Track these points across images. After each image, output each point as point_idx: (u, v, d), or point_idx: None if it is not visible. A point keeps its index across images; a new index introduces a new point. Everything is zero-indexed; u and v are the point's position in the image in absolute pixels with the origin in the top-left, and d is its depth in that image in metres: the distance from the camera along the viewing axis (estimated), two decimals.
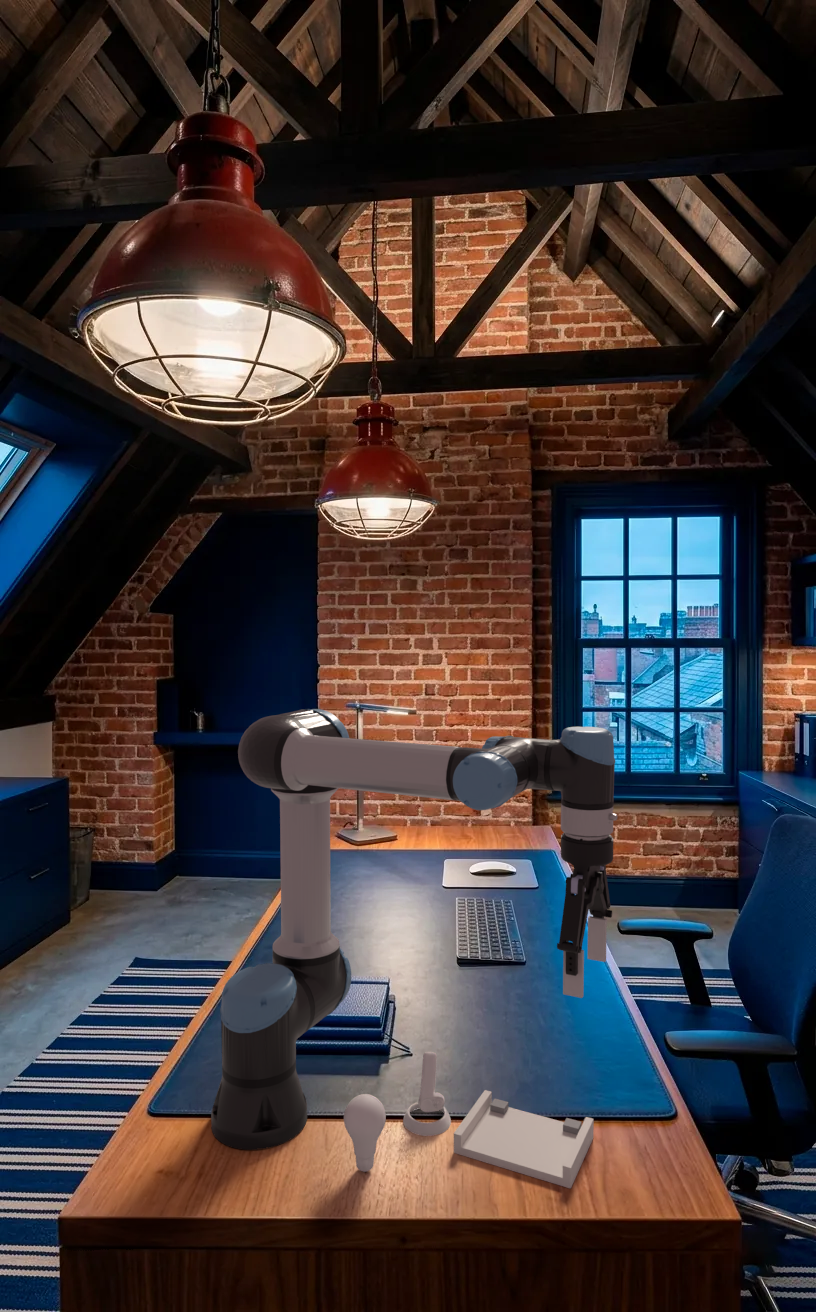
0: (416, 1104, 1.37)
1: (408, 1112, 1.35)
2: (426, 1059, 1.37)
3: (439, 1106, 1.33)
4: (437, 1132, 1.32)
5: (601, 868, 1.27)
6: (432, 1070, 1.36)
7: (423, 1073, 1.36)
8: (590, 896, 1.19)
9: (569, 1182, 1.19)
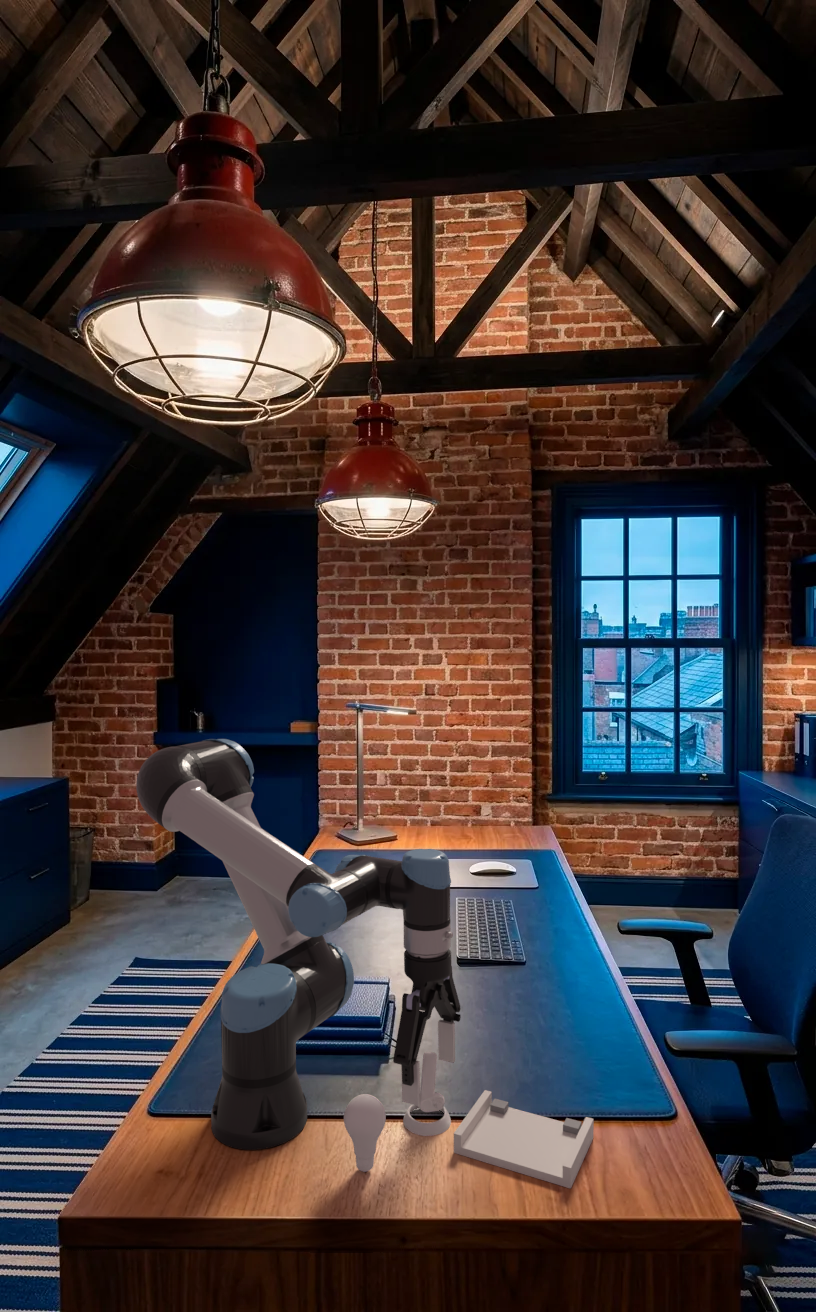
0: None
1: (408, 1112, 1.35)
2: (426, 1059, 1.37)
3: (439, 1106, 1.33)
4: (437, 1132, 1.32)
5: (446, 977, 1.38)
6: (432, 1070, 1.36)
7: (423, 1073, 1.36)
8: (427, 1009, 1.30)
9: (569, 1182, 1.19)
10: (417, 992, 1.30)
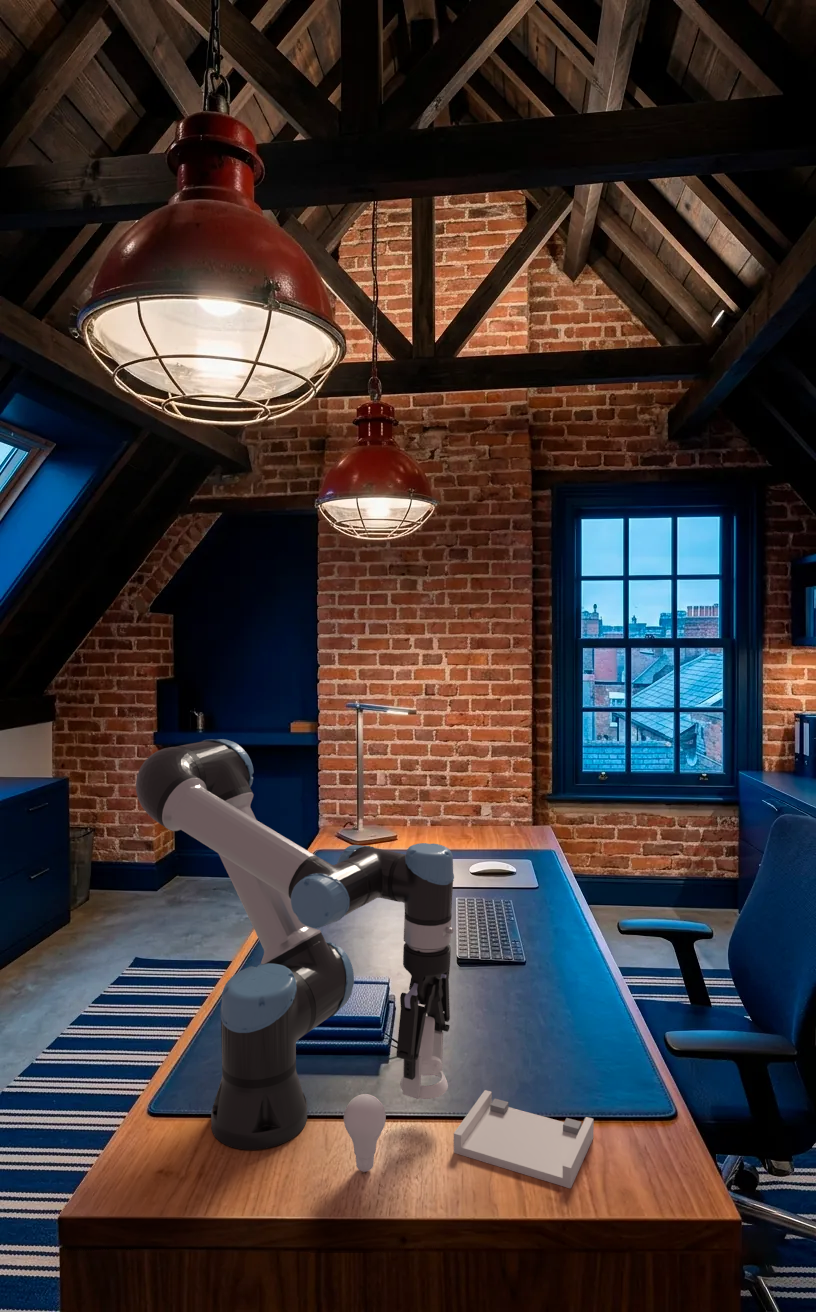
0: None
1: None
2: (424, 1023, 1.37)
3: (436, 1070, 1.33)
4: (434, 1095, 1.32)
5: (443, 976, 1.38)
6: (430, 1034, 1.36)
7: None
8: (426, 1005, 1.31)
9: (569, 1182, 1.19)
10: (415, 989, 1.30)
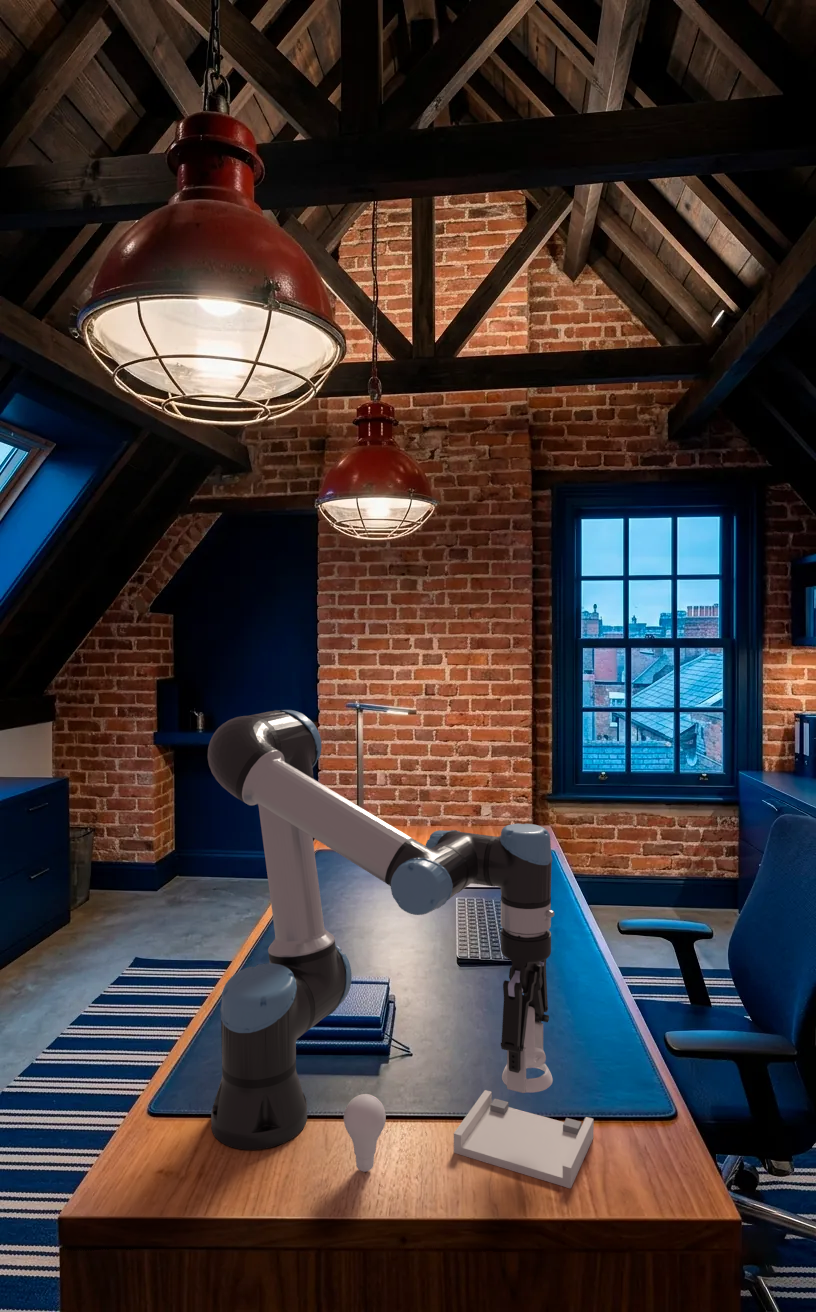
0: None
1: None
2: None
3: (541, 1061, 1.27)
4: (540, 1088, 1.25)
5: (541, 963, 1.32)
6: (531, 1024, 1.29)
7: None
8: (529, 993, 1.24)
9: (569, 1182, 1.19)
10: (517, 976, 1.23)
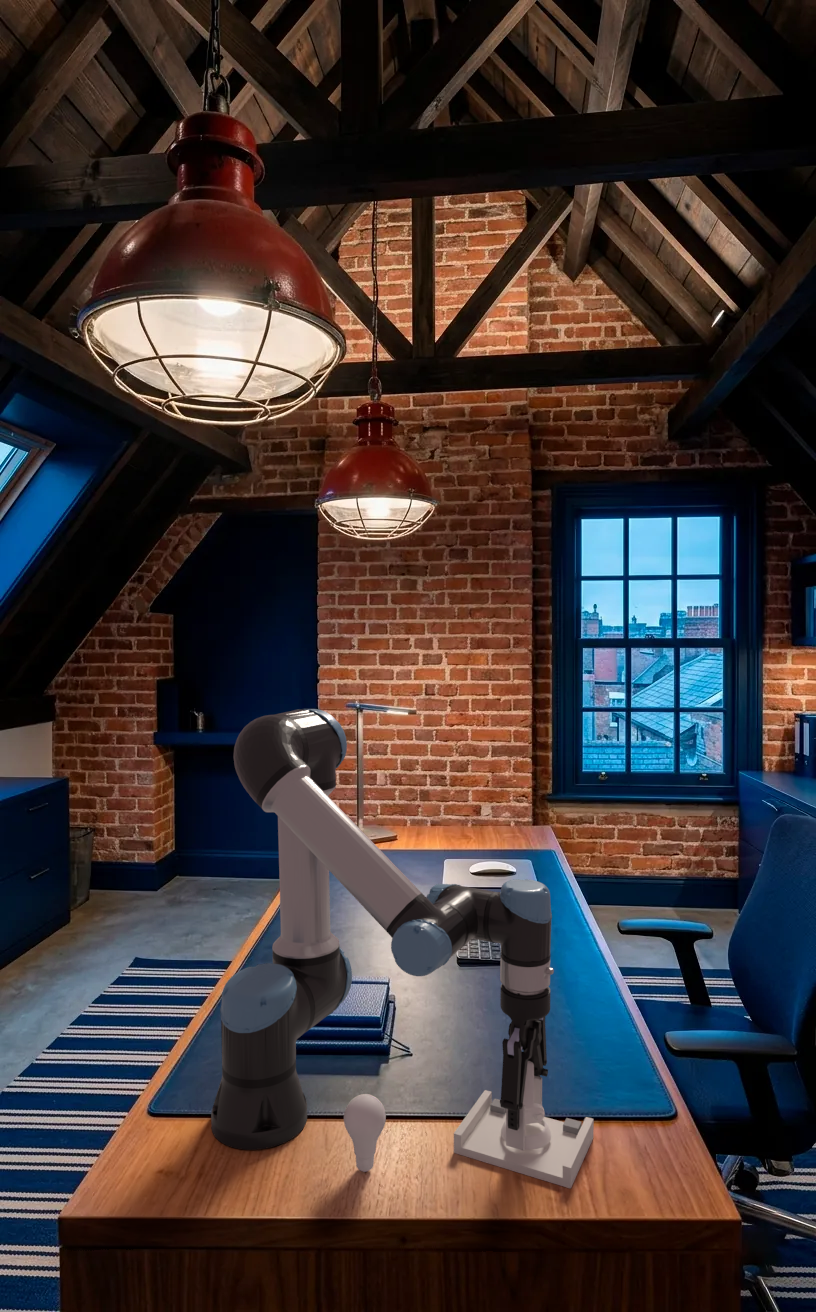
0: None
1: None
2: None
3: (540, 1118, 1.27)
4: (539, 1145, 1.25)
5: (540, 1017, 1.32)
6: (530, 1080, 1.30)
7: None
8: (528, 1051, 1.25)
9: (569, 1182, 1.19)
10: (516, 1034, 1.24)
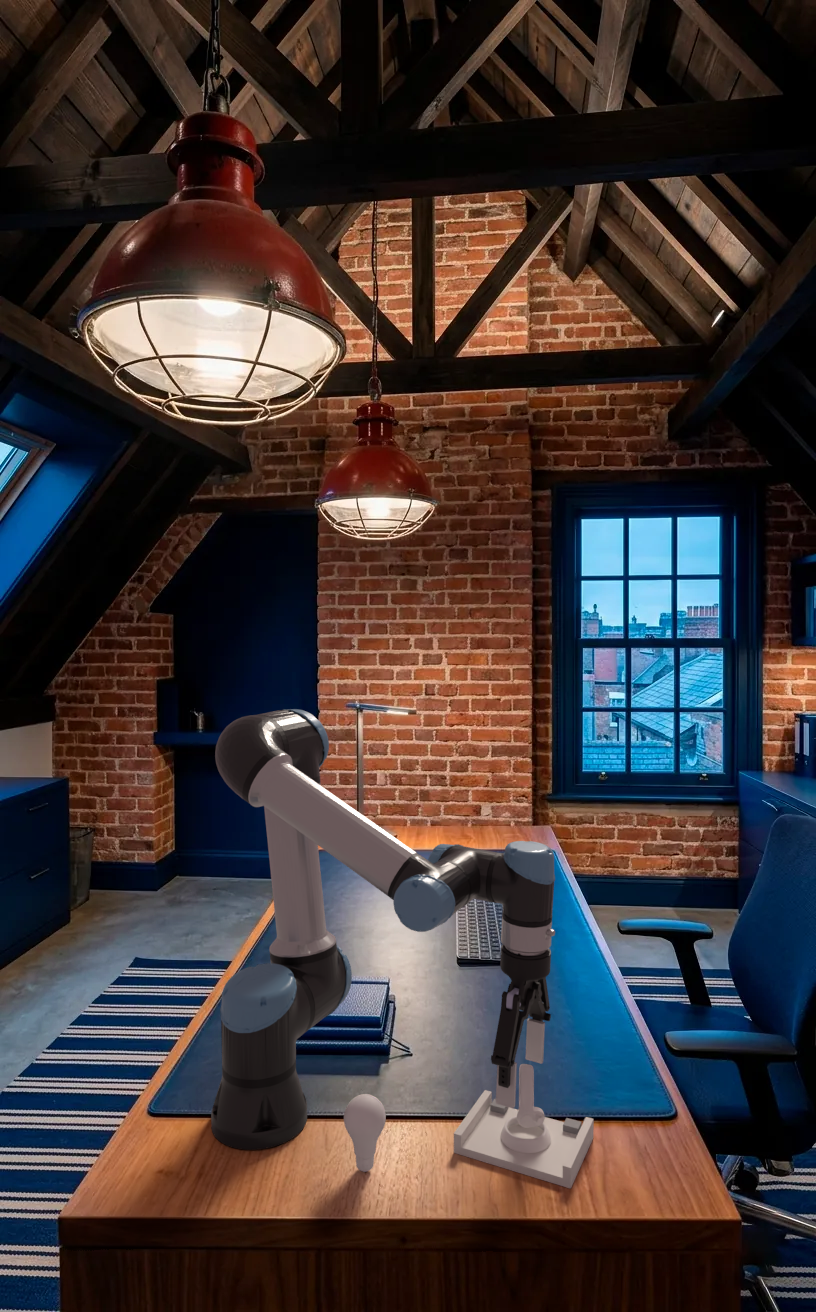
0: (512, 1119, 1.31)
1: (506, 1128, 1.28)
2: (523, 1072, 1.30)
3: (540, 1121, 1.27)
4: (539, 1149, 1.25)
5: None
6: (530, 1083, 1.30)
7: (521, 1087, 1.29)
8: (525, 1009, 1.24)
9: (569, 1182, 1.19)
10: (516, 991, 1.24)
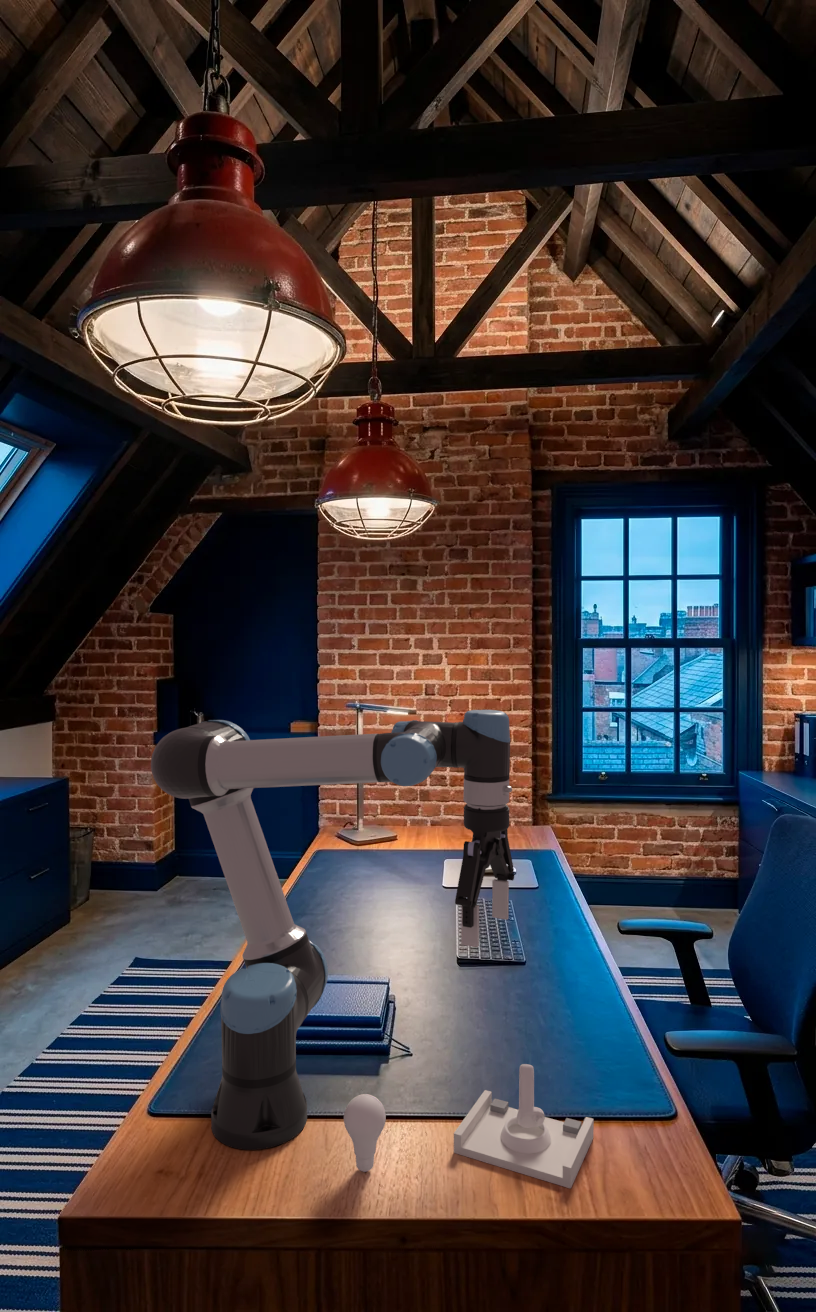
0: (512, 1119, 1.31)
1: (506, 1128, 1.28)
2: (523, 1072, 1.30)
3: (540, 1121, 1.27)
4: (539, 1149, 1.25)
5: (502, 836, 1.43)
6: (530, 1084, 1.30)
7: (521, 1087, 1.29)
8: (486, 858, 1.35)
9: (569, 1182, 1.19)
10: (477, 841, 1.35)
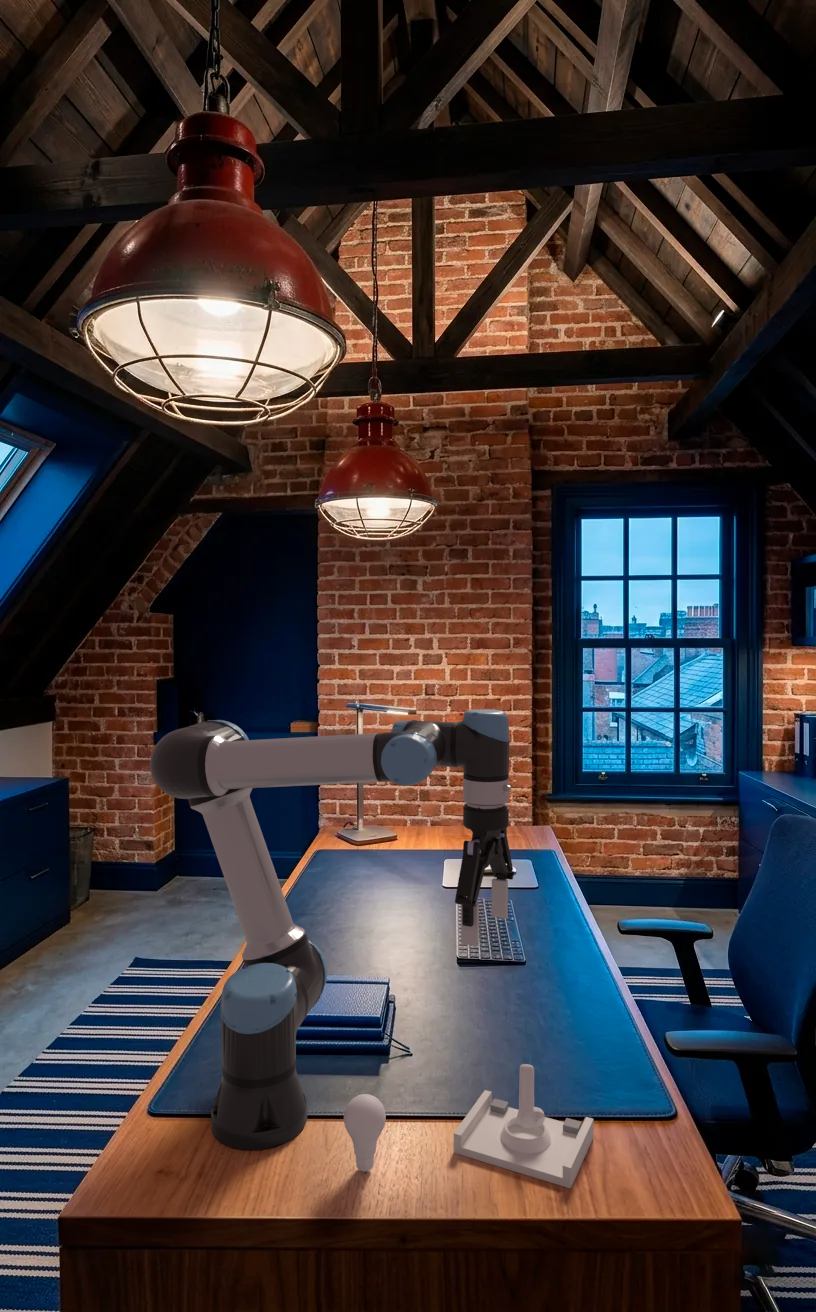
0: (512, 1119, 1.31)
1: (506, 1128, 1.28)
2: (523, 1072, 1.30)
3: (540, 1121, 1.27)
4: (539, 1149, 1.25)
5: (502, 835, 1.44)
6: (530, 1084, 1.30)
7: (521, 1087, 1.29)
8: (486, 858, 1.36)
9: (569, 1182, 1.19)
10: (477, 840, 1.35)
